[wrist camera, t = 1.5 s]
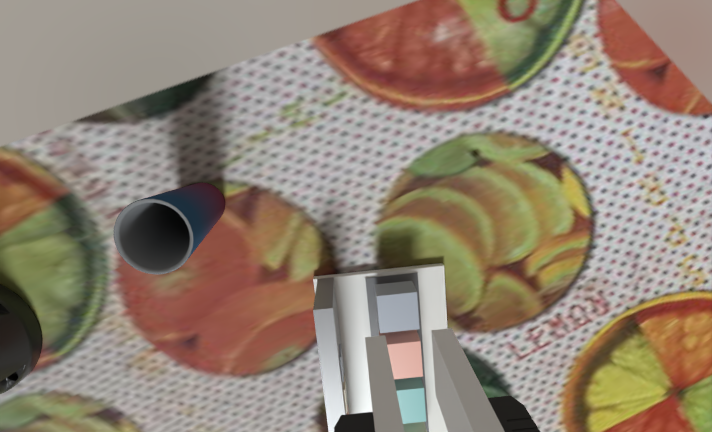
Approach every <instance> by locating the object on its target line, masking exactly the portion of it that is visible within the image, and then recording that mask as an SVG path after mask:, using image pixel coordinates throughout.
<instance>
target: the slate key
mask: <svg viewBox="0 0 712 432" xmlns="http://www.w3.org/2000/svg"><path fill="white" fill-rule="evenodd" d="M374 287H375V297H376V308H377V319H378V325H379V330H380V333H388V332H397V331H407V330H416V329H420V327H419V313H418V300H417V291H416V289H415V286H414V284H413V282H412V281H404V282H395V283H385V284H375V285H374Z"/></svg>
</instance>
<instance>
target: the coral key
mask: <svg viewBox="0 0 712 432" xmlns="http://www.w3.org/2000/svg"><path fill="white" fill-rule="evenodd" d="M382 335H385V337H386V342H387V347H388V352H389V357H390V362H391V367H392V372H393V377H394V379H404V378H413V377H423V369H422V355H421V341H420V338H419V335H418V333H417V330H407V331H397V332H388V333H380V331H379V336H382Z"/></svg>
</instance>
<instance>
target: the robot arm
mask: <svg viewBox="0 0 712 432" xmlns="http://www.w3.org/2000/svg"><path fill="white" fill-rule="evenodd" d="M431 333H432V348H433V363H434V378H435V393H436V398H437V401H438V403H439V406H440V409H441V412H442V415H443V418H444V421H445V424H446V427H447V430H448V432H540V431H539V430H538V428H537V426H536V424H535V423H534V421H533V420H532V419H531V416H530V415H529V413H528V411H527V410H526V408H525V407H524V405H523V404H521V403H520V402H519V401H517V400H516V399H514V398H513V397H512V396H503V397H494V398H487V396H486V394H485V392H484V390H483V389H482V387H481V385H480V383H479V381H478V379H477V377H476V375H475V373H474V371H473V369H472V367H471V365H470V363H469V361H468V359H467V357H466V355H465V353H464V351H463V350H462V348H461V346H460V344H459V342H458V340H457V338H456V336H455V334H454V332H453V330H452V328H449V329H439V330H431ZM365 343H366V353H367V362H368V372H369V382H370V392H371V402H372V411H373V412H365V413H356V414H347V415H341V416H340V418H339V420H338V421H337V423H336V425H335V427H334V432H405V431H404V426H403V421H402V416H401V411H400V406H399V401H398V396H397V391H396V386H395V381H394V377H393V372H392V367H391V362H390V357H389V352H388V347H387V342H386V337H385V335H382V336H373V337H365ZM41 347H42V337H41V331H40V327H39V324H38V322H37V319H36V317H35V315H34V314H33V312H32V311H31V309H30V308H29V307H28V305H27V304H26V303H25V302H24V301H23V300H22V299H21V298H20V297H19V296H18V295H17V294H15V293H14V292H12V291H11V290H9V289H8V288H6V287H4V286H2V285H0V394H2V393H4V392H6V391H8V390H9V389H11V388H12V387H14V386H15V385H16V384H18V383H19V382H20V381H21V380H22V379H24V378H25V377H26V376H27V375H28V374H29V373H30V372H31V371H32V370H33V368H34V367H35V365H36V364H37V362H38V359H39V357H40V353H41Z"/></svg>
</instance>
